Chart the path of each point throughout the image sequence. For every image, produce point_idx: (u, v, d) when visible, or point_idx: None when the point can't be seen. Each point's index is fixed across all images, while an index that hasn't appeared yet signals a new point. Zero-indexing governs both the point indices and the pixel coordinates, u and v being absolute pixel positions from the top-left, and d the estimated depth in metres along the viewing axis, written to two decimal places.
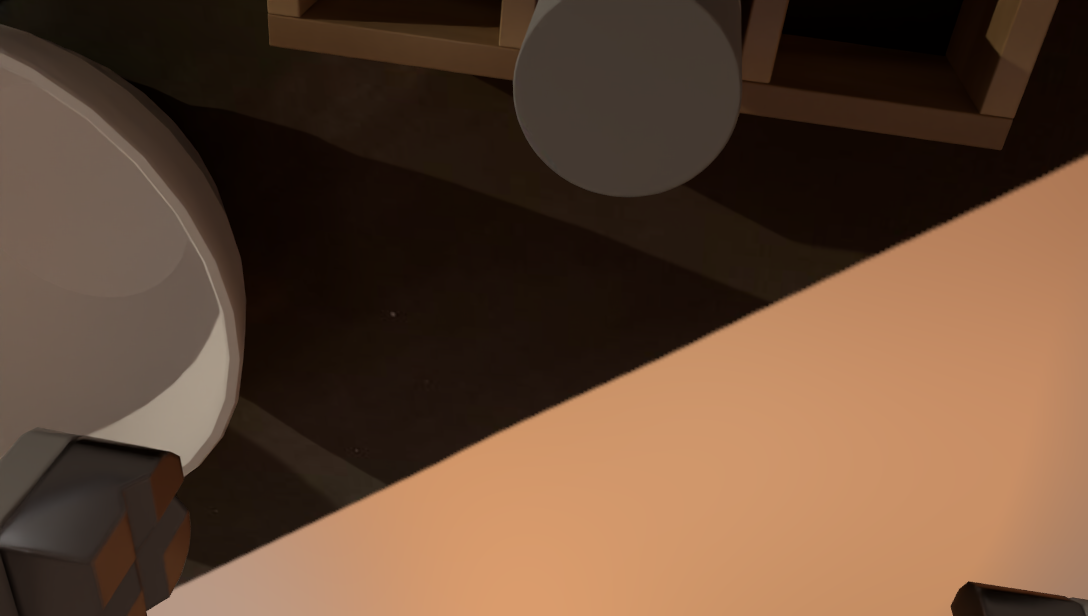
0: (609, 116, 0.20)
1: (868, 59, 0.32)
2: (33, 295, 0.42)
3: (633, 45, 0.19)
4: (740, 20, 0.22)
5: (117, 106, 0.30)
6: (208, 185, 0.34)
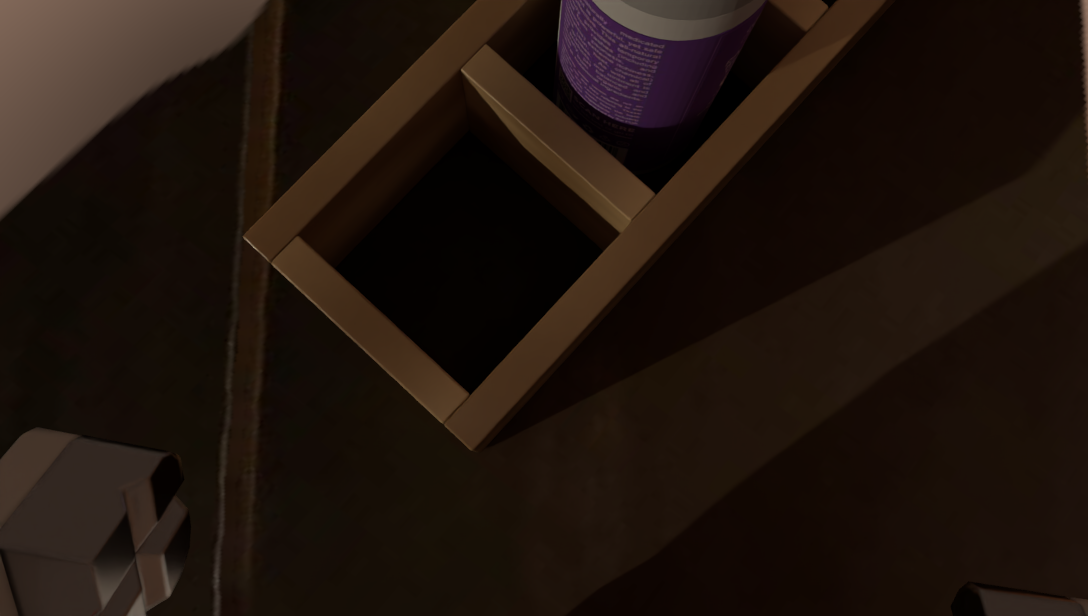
0: None
1: None
2: None
3: None
4: None
5: None
6: None
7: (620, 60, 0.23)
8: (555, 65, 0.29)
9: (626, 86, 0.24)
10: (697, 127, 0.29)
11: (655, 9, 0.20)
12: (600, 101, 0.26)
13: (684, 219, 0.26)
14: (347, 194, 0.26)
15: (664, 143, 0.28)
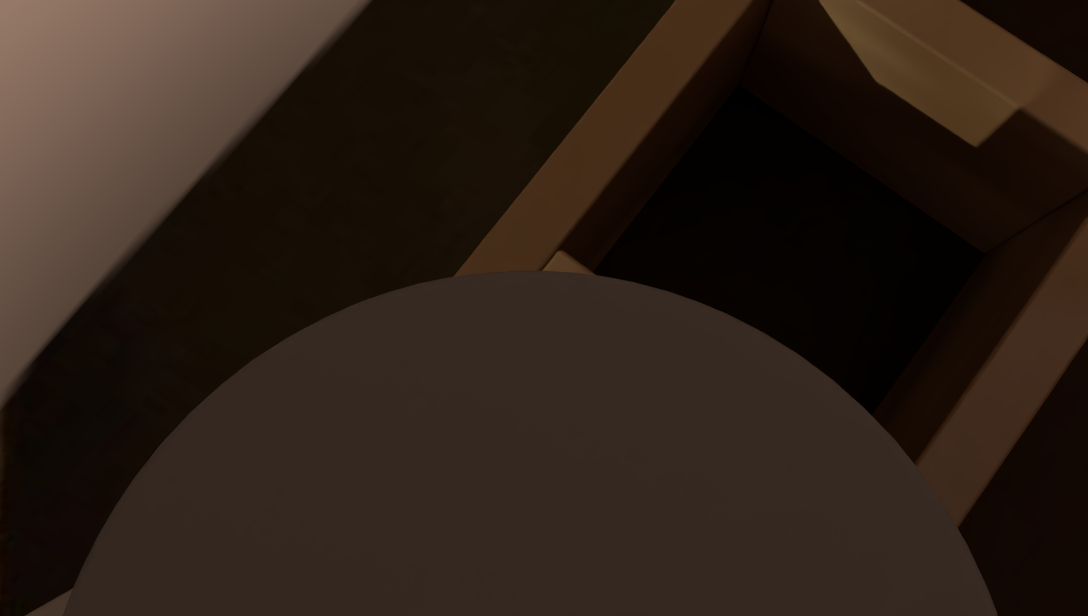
0: None
1: (936, 348, 0.18)
2: None
3: (353, 612, 0.05)
4: None
5: None
6: None
7: None
8: None
9: None
10: None
11: None
12: None
13: None
14: None
15: None
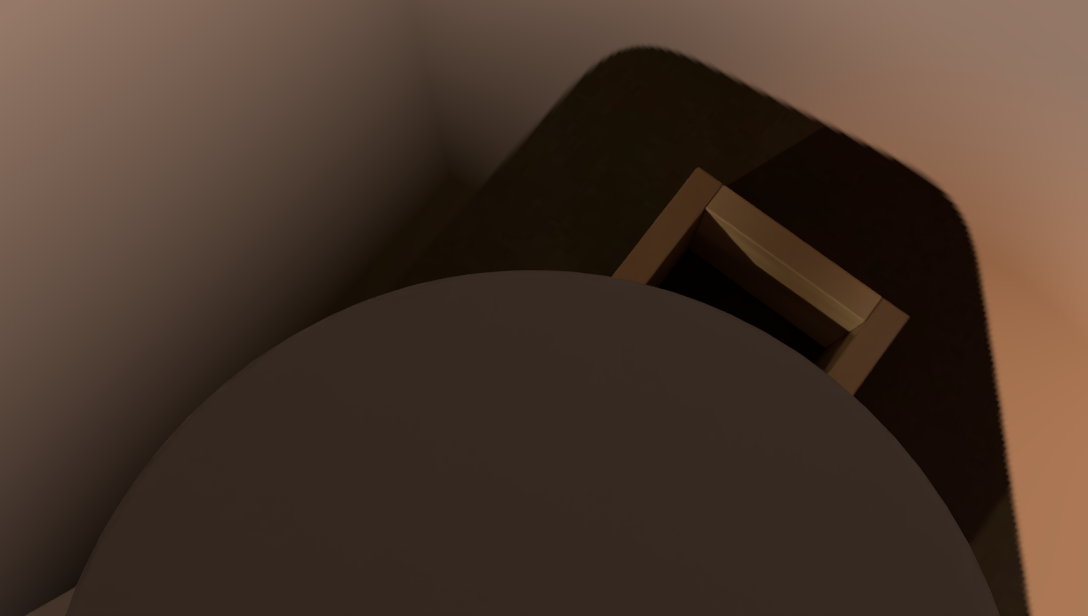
0: None
1: None
2: None
3: (354, 612, 0.05)
4: None
5: None
6: None
7: None
8: None
9: None
10: None
11: None
12: None
13: None
14: None
15: None
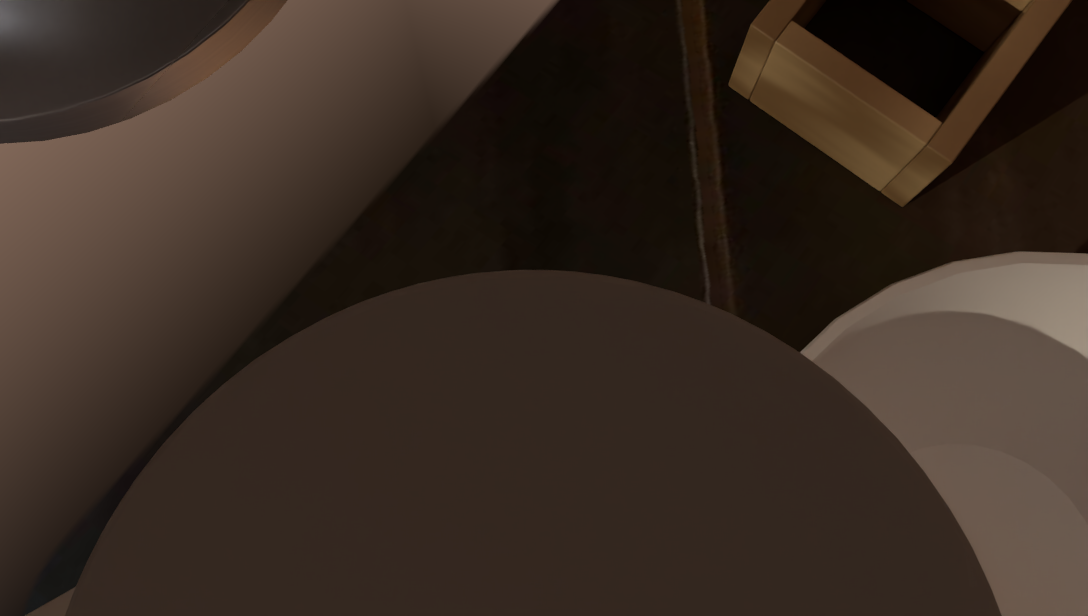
0: None
1: None
2: None
3: (355, 613, 0.05)
4: None
5: None
6: None
7: None
8: None
9: None
10: None
11: None
12: None
13: None
14: None
15: None
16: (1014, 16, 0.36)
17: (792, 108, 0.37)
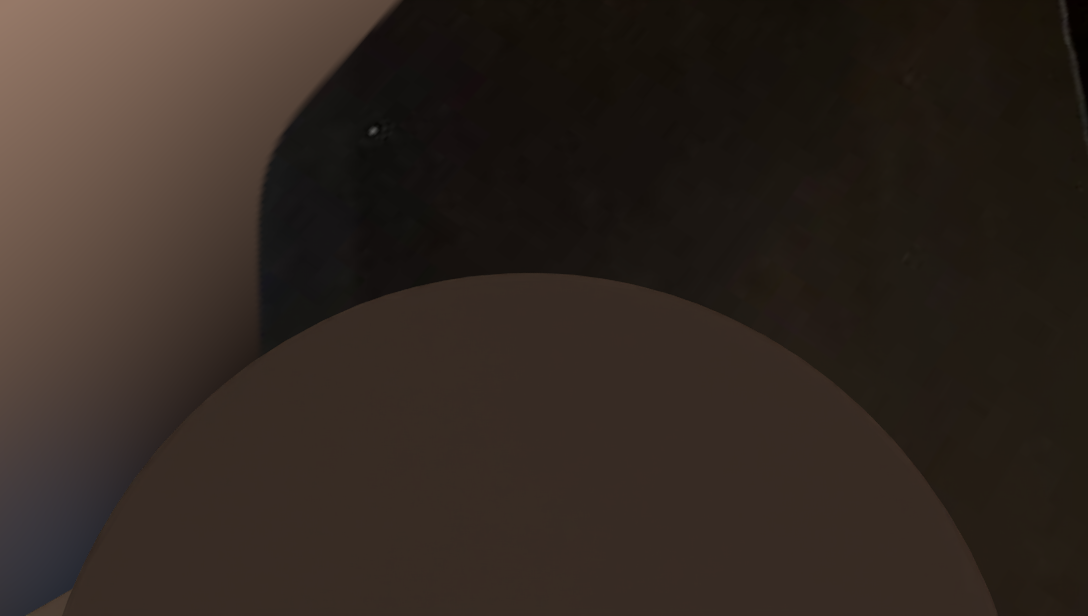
0: None
1: None
2: None
3: None
4: None
5: None
6: None
7: None
8: None
9: None
10: None
11: None
12: None
13: None
14: None
15: None
16: None
17: None
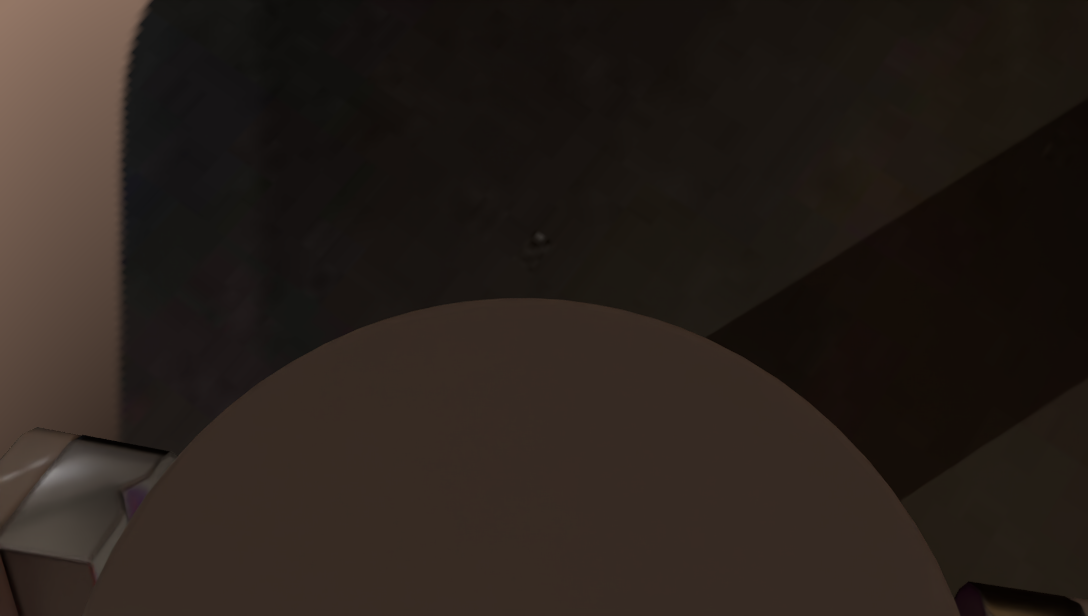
0: None
1: None
2: None
3: None
4: None
5: None
6: None
7: None
8: None
9: None
10: None
11: None
12: None
13: None
14: None
15: None
16: None
17: None
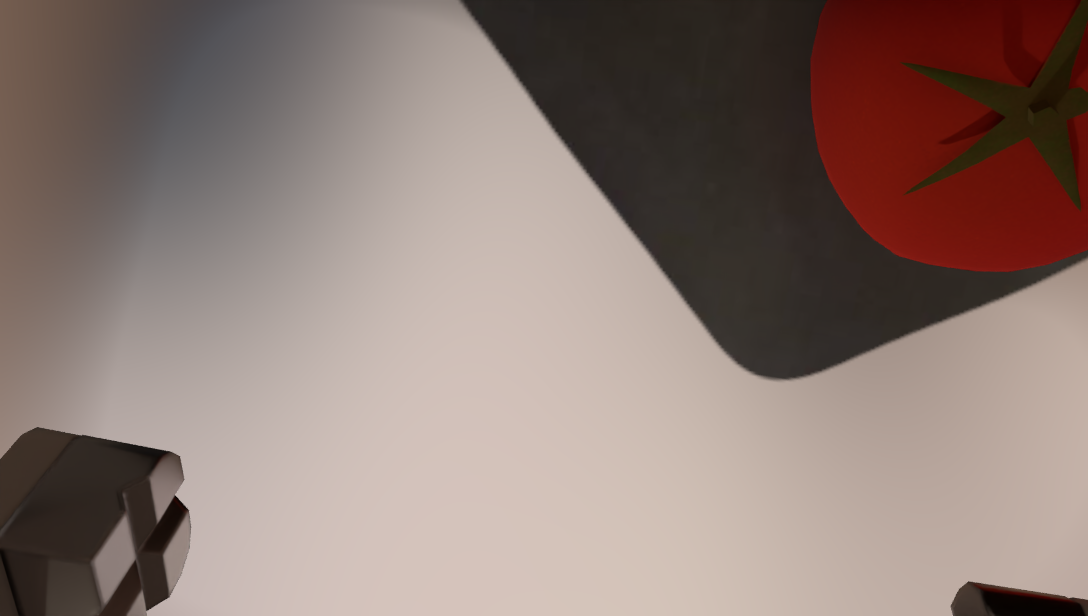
0: None
1: None
2: None
3: None
4: None
5: None
6: None
7: None
8: None
9: None
10: None
11: None
12: None
13: None
14: None
15: None
16: None
17: None
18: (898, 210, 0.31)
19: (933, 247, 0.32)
